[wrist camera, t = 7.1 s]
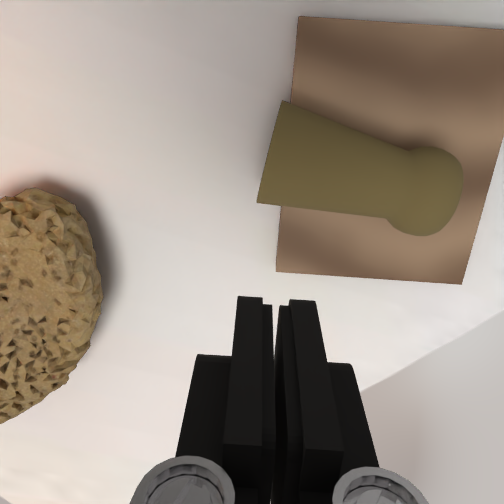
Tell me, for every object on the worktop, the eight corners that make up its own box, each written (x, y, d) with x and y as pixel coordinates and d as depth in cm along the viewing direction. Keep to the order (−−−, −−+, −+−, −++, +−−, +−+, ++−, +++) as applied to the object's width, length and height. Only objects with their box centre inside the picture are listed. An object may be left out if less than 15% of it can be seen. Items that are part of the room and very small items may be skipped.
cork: (253, 211, 25) (451, 261, 25) (281, 96, 23) (493, 150, 23) (259, 195, 31) (419, 236, 31) (282, 103, 29) (451, 145, 29)
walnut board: (298, 17, 27) (299, 15, 26) (522, 32, 27) (532, 31, 26) (275, 264, 34) (275, 271, 32) (455, 276, 34) (461, 284, 32)
